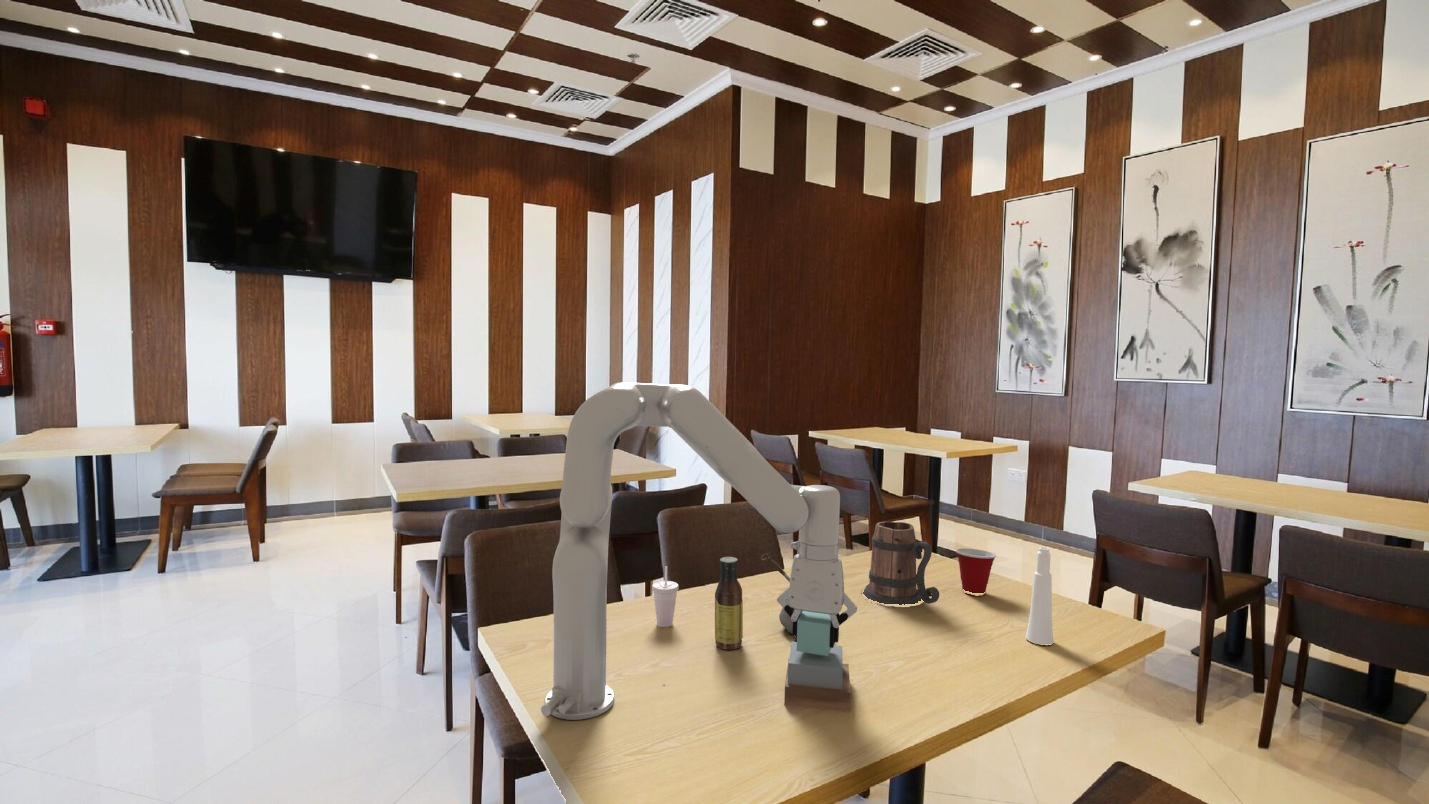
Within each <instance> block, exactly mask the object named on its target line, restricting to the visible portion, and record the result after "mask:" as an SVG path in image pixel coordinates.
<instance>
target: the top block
mask: <svg viewBox="0 0 1429 804" xmlns="http://www.w3.org/2000/svg"><path fill="white" fill-rule="evenodd" d="M788 659H789V662H788V661H787V666H788V684H793V685H803V686H812V687H822V688H832V689H841V690H842V676H843V664H844V663H843V646H842V645H836V644H835V645H834V647H833V648H831V650H830V653H829V655H828V656H824V655H818V654H812V653H806V652H800V651H797V642H795V641H791V646H790V651H789V657H788Z"/></svg>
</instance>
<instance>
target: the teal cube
mask: <svg viewBox="0 0 1429 804" xmlns="http://www.w3.org/2000/svg"><path fill="white" fill-rule="evenodd" d="M831 625H832V621H831V618H830V616H829V614H823V613H815V612H808V611H803V612H802V613H801V615H800V617H799V619H798V622H797V651H800V652H806V653H812V654H818V655H824V656H828V655H829V653H830V650H831V648H830V627H831Z"/></svg>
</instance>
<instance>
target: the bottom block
mask: <svg viewBox="0 0 1429 804" xmlns="http://www.w3.org/2000/svg"><path fill="white" fill-rule="evenodd" d="M788 662H789V658H788V659H787V663H788ZM849 665H850V664H849V663H843V676H842V690H841V689H832V688H822V687H812V686H803V685H793V684H788V665H787V666H786V667H787V669H786V675H785V676H786V677H785V684H784V700H783V701H784V703H783V704H784V706H790V707H791V706H792V707H802V708H803V707H804V708H811V709H822V710H830V711H841V712H851V698H852V697H851V695H852V694H851V680H850V666H849Z"/></svg>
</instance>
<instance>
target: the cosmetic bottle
mask: <svg viewBox="0 0 1429 804" xmlns="http://www.w3.org/2000/svg"><path fill="white" fill-rule="evenodd" d="M1035 568H1036V571H1034V573H1033V580H1032V590H1031V600H1030V609H1029V618H1028V622H1027V623H1028V625H1027V628H1026V634H1025V637H1026V638H1027V639H1028V640H1030V641H1032V642H1034V643H1038V644H1053V643H1054V644H1055V641H1054V633H1053V619H1052V618H1053V616H1052V615H1053V612H1052V611H1053V607H1052V606H1053V603H1052V598H1053V594H1052V593H1053V591H1052V590H1053V589H1052V588H1053V587H1052V586H1053V585H1052V584H1053V583H1052V577H1053V576H1052V573H1050V572H1051V571H1050V570H1051V553H1050V548H1048V547H1044V546H1041V547H1038V551H1037V552H1036V567H1035ZM1054 644H1053V645H1054Z"/></svg>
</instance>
